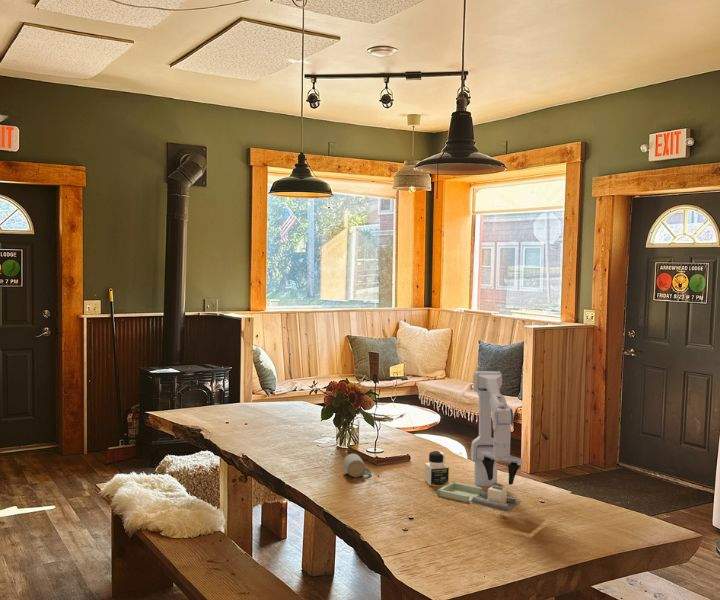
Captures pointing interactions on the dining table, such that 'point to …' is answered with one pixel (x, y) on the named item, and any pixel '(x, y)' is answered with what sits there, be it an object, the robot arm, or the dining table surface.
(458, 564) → the dining table surface
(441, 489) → the tray
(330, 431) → the dining table surface
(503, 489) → the beige cardboard box
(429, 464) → the medicine bottle
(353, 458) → the ceramic mug
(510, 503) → the dock
